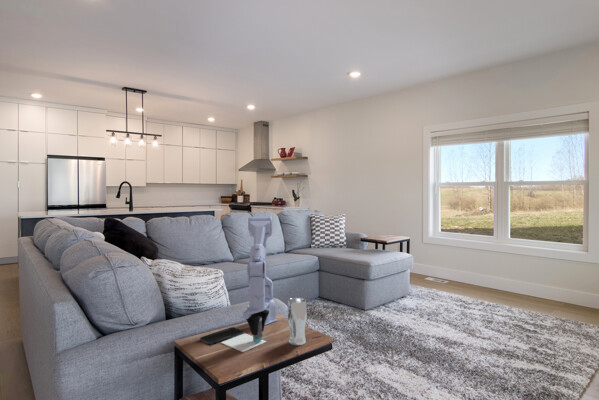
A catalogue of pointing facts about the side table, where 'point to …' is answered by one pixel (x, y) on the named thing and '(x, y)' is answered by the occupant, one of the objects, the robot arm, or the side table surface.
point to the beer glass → (297, 320)
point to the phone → (221, 336)
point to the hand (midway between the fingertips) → (257, 332)
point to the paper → (243, 342)
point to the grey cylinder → (259, 335)
